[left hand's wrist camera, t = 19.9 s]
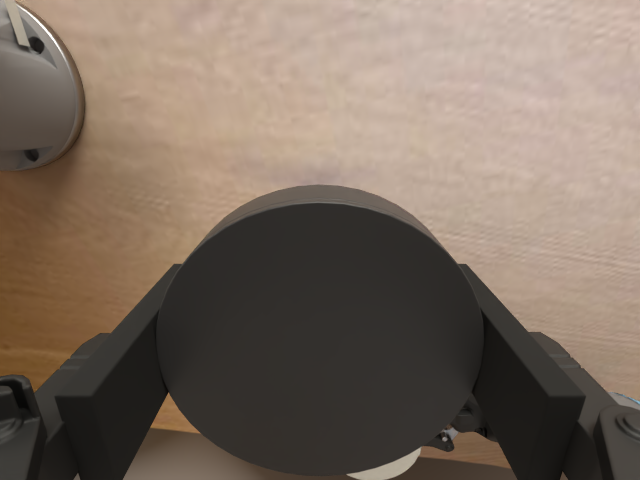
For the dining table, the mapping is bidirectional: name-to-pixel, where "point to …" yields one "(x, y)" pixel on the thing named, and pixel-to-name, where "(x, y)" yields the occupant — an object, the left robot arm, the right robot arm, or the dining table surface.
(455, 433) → the right robot arm
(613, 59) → the dining table surface
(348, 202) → the lid
